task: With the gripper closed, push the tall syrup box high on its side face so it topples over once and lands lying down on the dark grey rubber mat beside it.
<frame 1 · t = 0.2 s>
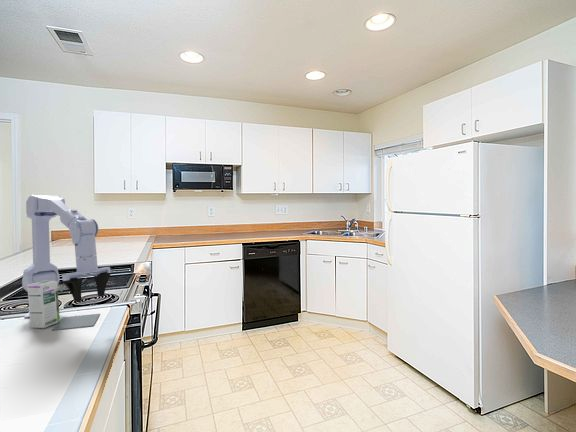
hand: (90, 299, 101), 11 cm above the counter, tool pointing down, fingers open, 7 cm apart
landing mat: (77, 321, 108), on the counter
syrup box: (45, 325, 105), on the counter, touching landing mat
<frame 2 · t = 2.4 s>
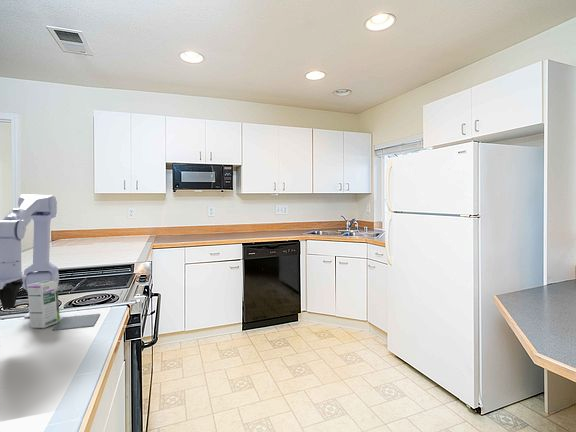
hand: (8, 308, 91), 10 cm above the counter, tool pointing down, fingers closed
nothing on the counter moved.
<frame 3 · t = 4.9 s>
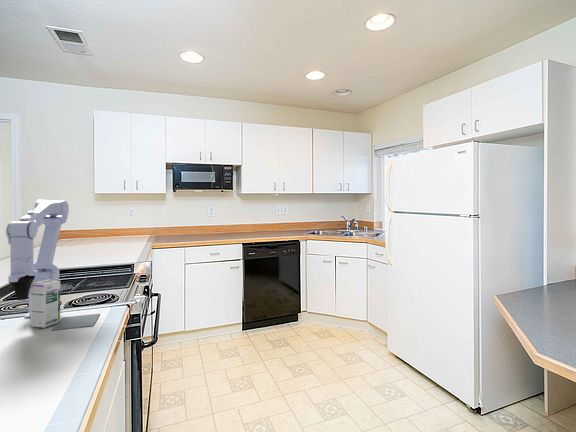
hand: (22, 299, 102), 9 cm above the counter, tool pointing down, fingers closed
syrup box: (45, 324, 105), on the counter, touching gripper, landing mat
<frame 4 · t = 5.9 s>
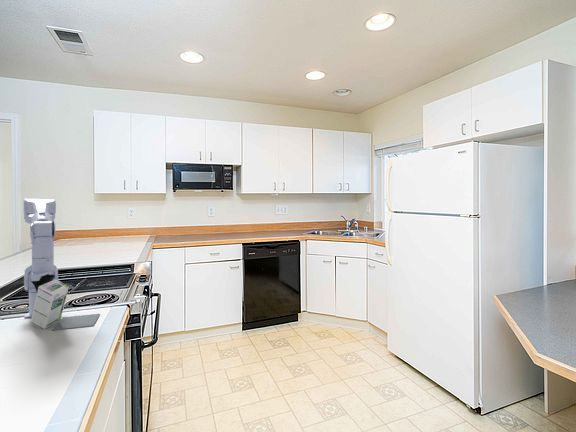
hand: (43, 297, 104), 9 cm above the counter, tool pointing down, fingers closed
syrup box: (45, 321, 105), point 2 cm above the counter
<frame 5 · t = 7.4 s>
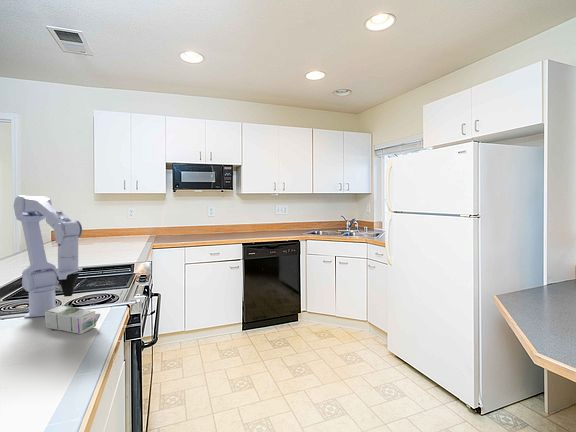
hand: (68, 295, 107), 9 cm above the counter, tool pointing down, fingers closed
syrup box: (52, 315, 104), point 4 cm above the counter, touching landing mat
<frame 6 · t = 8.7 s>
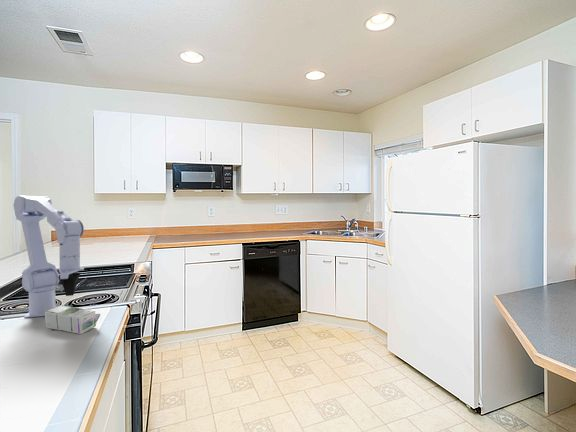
hand: (69, 295, 107), 10 cm above the counter, tool pointing down, fingers closed
nothing on the counter moved.
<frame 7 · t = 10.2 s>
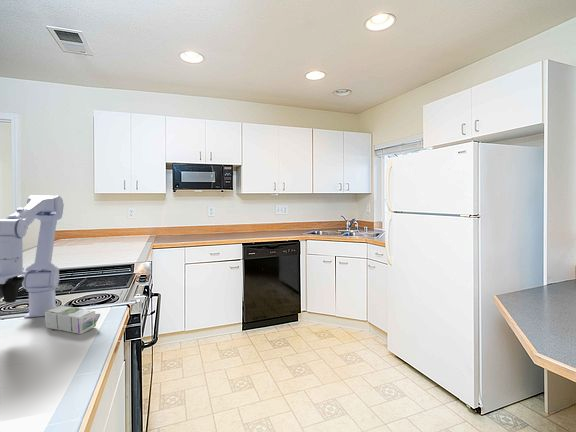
hand: (10, 302, 96), 10 cm above the counter, tool pointing down, fingers closed
nothing on the counter moved.
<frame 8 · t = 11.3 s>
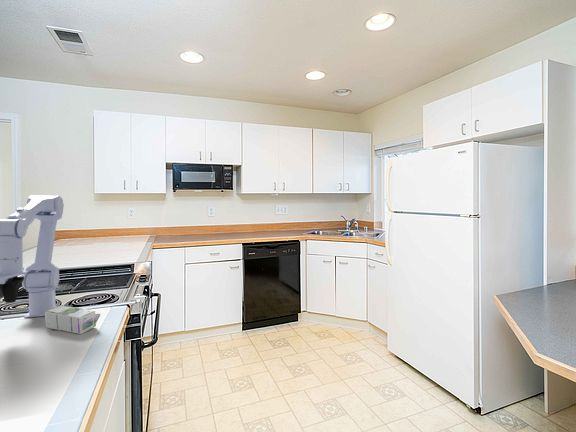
hand: (10, 302, 96), 10 cm above the counter, tool pointing down, fingers closed
nothing on the counter moved.
at the end: syrup box tilted 93°; syrup box touching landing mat, counter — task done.
